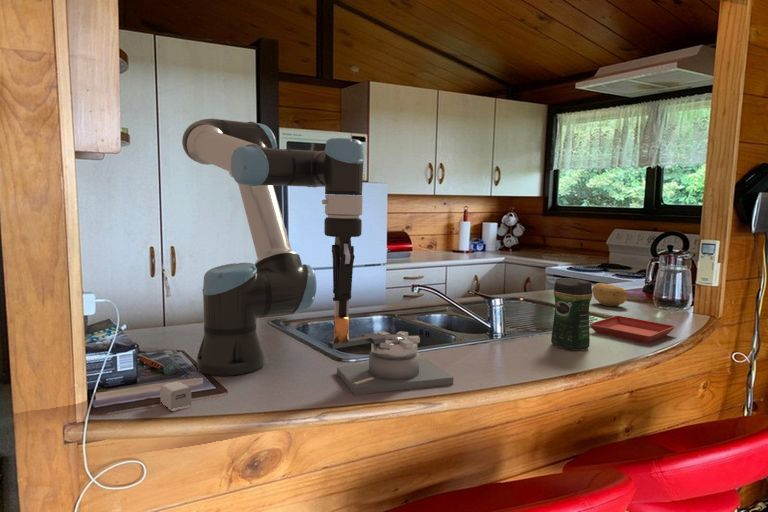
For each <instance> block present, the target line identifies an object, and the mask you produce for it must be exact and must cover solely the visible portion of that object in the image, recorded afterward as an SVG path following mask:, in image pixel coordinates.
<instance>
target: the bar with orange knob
mask: <svg viewBox="0 0 768 512" xmlns="http://www.w3.org/2000/svg"><path fill="white" fill-rule="evenodd" d="M349 333H350V318H349V317H348V316H346V317H339V316H335V317H333V340H332V341H328V344H327V345H328V348H330V349H331V350H335V349H341V348H347V347H353V346H358V345H364V344H371V351H370V352H371V353H372V355H374V356H376V357H379V358H383V359H391V360H401V359H409V358H412V357H415V356H416V355H417V352H418V344H420V343H421V338H420V335H409V332H408V331H397V332H395V334H391V333H389V332H387V331H384V330H383V331H377V332H375V333H374V332H371V333H370V332H369V333H364V334H362V335H361V336H357V337H352V338H350V336H349V335H350V334H349Z"/></svg>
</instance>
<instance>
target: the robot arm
mask: <svg viewBox="0 0 768 512" xmlns="http://www.w3.org/2000/svg"><path fill="white" fill-rule="evenodd" d="M181 141H182V142H181V144H182V148H183V150H184V153H185V154H186V156H187V157H188V158H190V159H191V160H192V161H194V162H197V164H201V165H206V166H208V165H214V166H215V167H218V168H220V169H222V170H224V171H226V172H228V173H229V175H230V177H232V178H233V179H234V181H235V183H237V184H238V188H239V193H240V196H241V200H242V203H243V208H244V212H245V216H246V219H247V223H248V227H249V231H250V235H251V239H252V243H253V245H254V251H255V253H256V254H255V255H256V257H257V260H255V263H252V262H239V263H237V262H236V263H235V262H234V263H228V264H223V265H220V266H219V265H218V266H215V267H212V268H210V269H208V270H207V271H206V272H205V273H204V275H203V282H202V283H203V286H202V287H203V288H202V295H203V337H202V340H201V344H200V346H199V350H198V353H197V356H196V369H197V368H198V369H199V370H200V371H201V372H200V371H199V372H200V373H203V374H206V375H210V376H211V375H212V376H217V377H218V376H221V377H223V376H224V377H225V376H226V377H227V376H238V375H245V374H248V373H250V374H251V373H253V372H255V371H259V370H260V369H262V368H263V367H264V366H265V352H264V350H263V348H262V347H263V346H262V343H261V341H260V339H259V335H258V333H257V319H259V318H269V317H275V316H283V315H295V314H297V313H298V314H299V313H303V312H306V311H307V310H308V309H310V307H312V305H313V303H314V301H315V298H316V293H317V287H318V286H317V276H316V273H315V270H314V269H313V267H311V265H308V264H304V263H303V262H302V259H301V256H300V254H299V253H297V252H296V251H294V250H292V246H291V243H290V240H289V236H288V232H287V229H286V226H285V222H284V220H283V215H282V211H281V208H280V205H279V201H278V197H277V193H276V191H275V186H277V187H278V186H279V187H280V186H282V187H283V186H284V187H307V188H319V187H320V188H322V187H323V188H324V197H325V199H322V200H321V204H322V205H325V206H324V214H325V215H327V217H325V219H324V224H323V225H324V231H323V233H324V235H325V236H327V237H331V238H334V244H331V253H332V254H331V255H332V256H331V257H332V284H333V285H332V286H333V287H332V293H333V294H334V295H333V297H332V301H333V302H334V317H335V316H339V317H346V316H348V317H349V313H350V312H349V308H350V305H349V303H350V300H351V298H352V286H353V271H354V270H353V269H354V262H355V254H354V252H355V246H354V245H352V239H351V238H358V237H361V235H362V229H363V228H362V227H363V226H362V221H363V220H362V218H360V216H363V184H364V183H363V180H364V179H363V178H364V161H365V159H364V152H363V150H364V149H363V147H364V146H363V143H362V142H361V141H360V140H359V139H356V138H355V139H354V138H345V137H343V138H342V137H340V138H339V137H337V138H336V137H335V138H333V137H332V138H328V139H327V141H326V142H325V148H324V150H303V149H289V148H278V144H277V143H278V142H277V140H276V136H275V134H274V133H273V131H272V129H271V128H270V127H269V126H267V125H266V124H263V123H258V122H256V121H255V122H254V121H247V122H246V121H236V120H227V119H218V118H204V119H199V120H198V121H195V122H193V123H191V124H190V125H188V127H187V128H185V130H184V132H183V136H182V139H181ZM334 317H333V318H334Z"/></svg>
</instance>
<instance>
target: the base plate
mask: <svg viewBox="0 0 768 512" xmlns="http://www.w3.org/2000/svg"><path fill="white" fill-rule="evenodd" d="M336 374H337V375H338V377H339V378H341V381H342V382H344V384H345V385H346V386H347V387H348V388H349V390H350V391H351V392H352V394H353V395H355V396H357V395H365V394H367V395H368V394H373V393H383V392H393V391H402V390H404V391H405V390H411V389H419V388H431V387H438V386H440V387H441V386H448V385H454V376H452V375H451V374H449V373H448V372H447V371H446V370H444V369H443V368H441V367H440V366H438V365H437V364H435V363H433V362H432V361H431V360H430V359H428V358H422V359H421V358H420V353H419V352H418V351H417V355H416V356H415V357H412V358H409V359H401V360H391V359H383V358H379V357H376V356H374V355H372V353H371V351H369V352H368V363H363V364H354V365H343V366H342V365H341V366H336Z"/></svg>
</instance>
